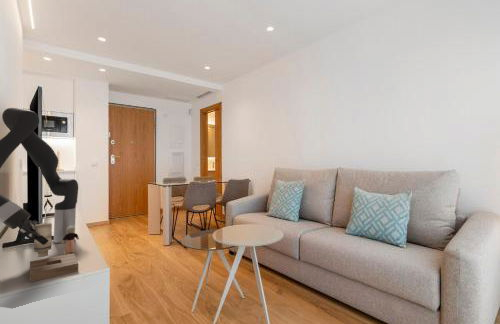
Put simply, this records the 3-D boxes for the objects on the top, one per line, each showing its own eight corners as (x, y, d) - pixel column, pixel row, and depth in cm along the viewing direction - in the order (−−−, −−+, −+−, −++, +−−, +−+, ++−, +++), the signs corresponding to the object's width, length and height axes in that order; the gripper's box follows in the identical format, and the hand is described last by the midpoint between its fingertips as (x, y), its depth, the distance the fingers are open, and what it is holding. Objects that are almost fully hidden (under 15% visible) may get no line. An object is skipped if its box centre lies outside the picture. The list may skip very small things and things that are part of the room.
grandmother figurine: (66, 256, 111) (67, 227, 111) (59, 255, 112) (59, 227, 112) (81, 250, 118) (81, 224, 119) (74, 250, 119) (75, 223, 119)
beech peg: (33, 255, 105) (34, 224, 105) (51, 252, 108) (51, 222, 108) (34, 259, 100) (34, 227, 100) (52, 255, 104) (52, 225, 104)
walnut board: (29, 269, 97) (30, 261, 97) (73, 260, 106) (73, 253, 106) (29, 281, 86) (30, 273, 86) (78, 271, 96) (78, 263, 96)
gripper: (13, 211, 95) (52, 238, 100) (27, 205, 108) (60, 229, 113) (-6, 226, 92) (34, 253, 98) (10, 218, 105) (45, 242, 110)
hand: (48, 240), depth 105 cm, fingers closed on beech peg, 5 cm apart
